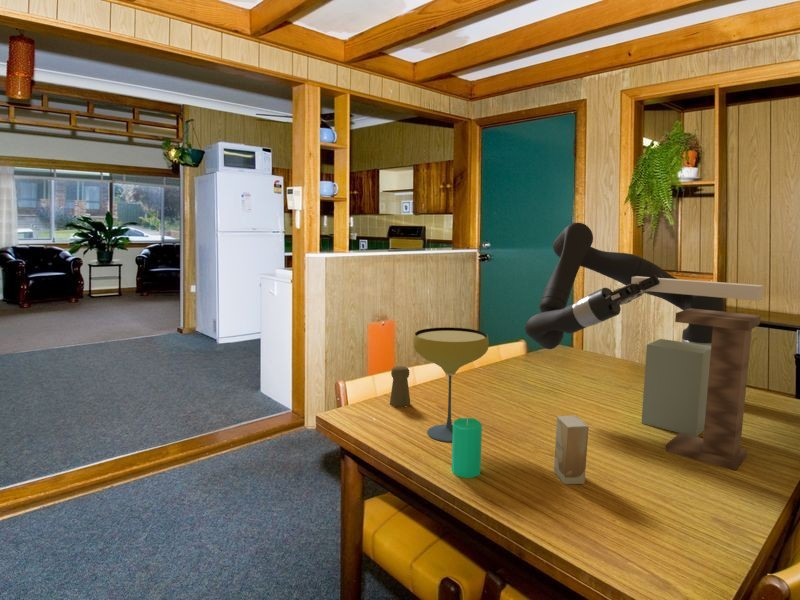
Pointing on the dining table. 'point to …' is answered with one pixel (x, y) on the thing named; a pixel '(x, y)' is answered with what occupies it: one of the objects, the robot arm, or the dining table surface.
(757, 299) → the cream bar
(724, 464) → the walnut stand
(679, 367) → the pale grey-green block
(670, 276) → the robot arm
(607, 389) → the dining table surface
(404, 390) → the pepper mill
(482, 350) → the cocktail glass
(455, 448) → the candle
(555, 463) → the skincare box
